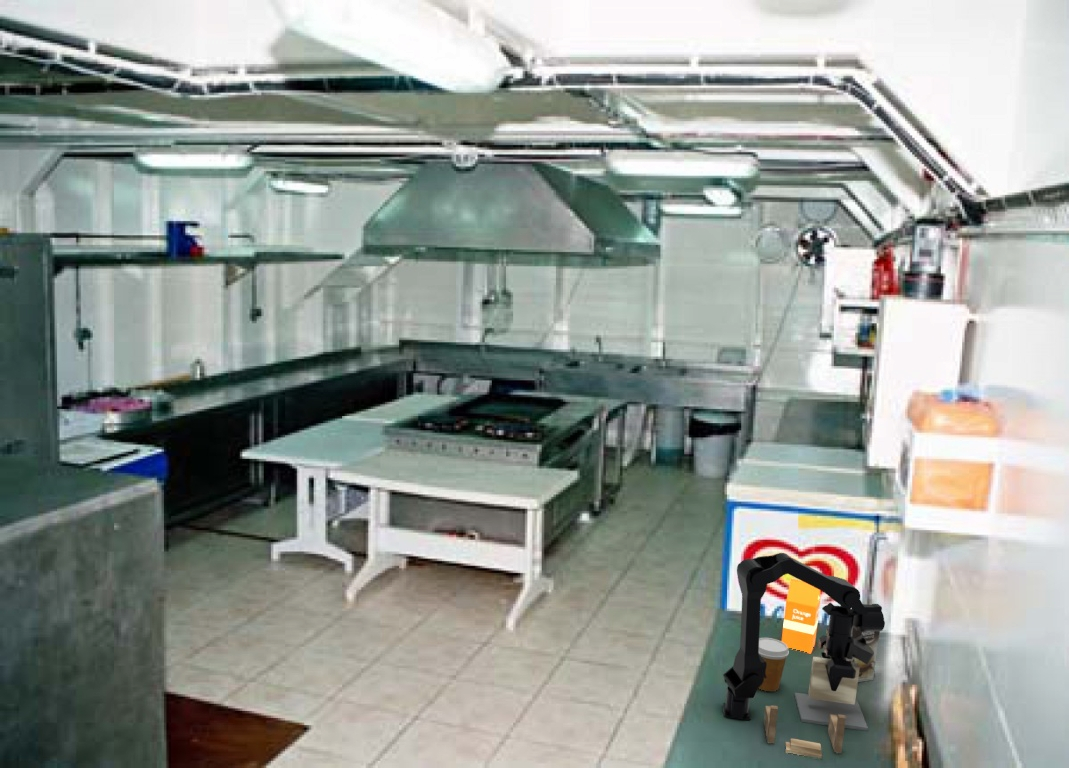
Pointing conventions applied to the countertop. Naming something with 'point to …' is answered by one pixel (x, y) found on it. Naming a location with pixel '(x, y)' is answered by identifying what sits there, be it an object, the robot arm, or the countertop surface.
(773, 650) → the disposable coffee cup
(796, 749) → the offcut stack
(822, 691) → the cream flat block
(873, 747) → the countertop surface
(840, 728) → the light wood rack
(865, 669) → the cookie box
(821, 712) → the rubber mat
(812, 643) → the orange juice
